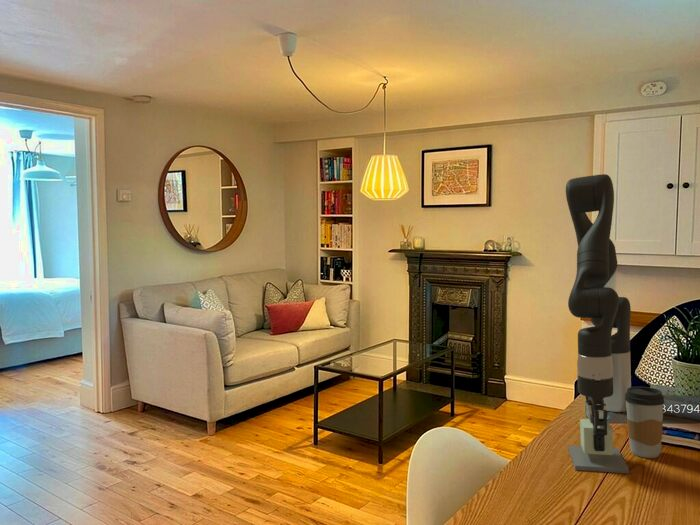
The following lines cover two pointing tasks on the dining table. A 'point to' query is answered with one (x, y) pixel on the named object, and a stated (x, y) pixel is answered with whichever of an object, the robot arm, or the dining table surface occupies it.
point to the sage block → (588, 439)
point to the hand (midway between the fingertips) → (596, 444)
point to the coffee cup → (644, 420)
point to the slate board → (597, 461)
